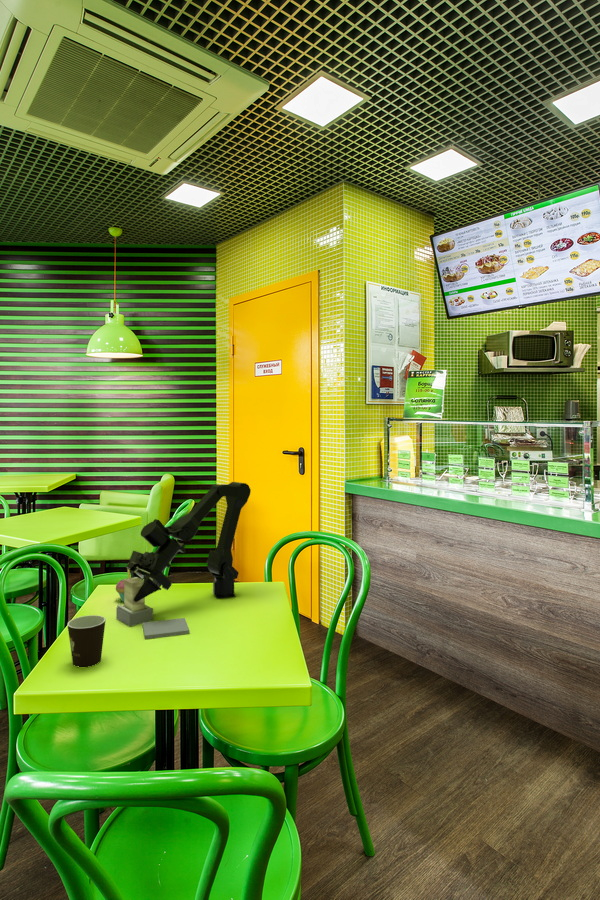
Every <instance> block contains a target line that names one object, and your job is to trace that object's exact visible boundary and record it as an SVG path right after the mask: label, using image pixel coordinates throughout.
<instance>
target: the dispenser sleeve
mask: <svg viewBox="0 0 600 900" xmlns="http://www.w3.org/2000/svg"><path fill="white" fill-rule="evenodd" d="M115 610H116V611H115V612H116V617H115V618H116V620H118V621H119V622H121V623H123V624H125V625H126V626H128V627H133V626H136V625H140V624H143V622H152V621H154V608H153V607H152V606H149V605H147V604H145V609H143V610H140V611H136V612H132V611H130V610H129V609H127V608H125V607H124V605H121V604H119V603H118V604H116V609H115Z"/></svg>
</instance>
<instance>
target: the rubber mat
mask: <svg viewBox="0 0 600 900" xmlns="http://www.w3.org/2000/svg"><path fill="white" fill-rule="evenodd" d="M142 629H143V636H144V637H143V638H144V640H148V639H149V640H150V639H156V638H158V637H159V638H166V637H172V636H173V637H175V636H181V635H189V634H190V628H189V625H188V623H187V620H186V617H179V618H170V619H163V620H162V619H161V620H155V621H154V620H152V621H148V622H143V623H142Z"/></svg>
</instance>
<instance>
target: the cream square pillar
mask: <svg viewBox="0 0 600 900" xmlns="http://www.w3.org/2000/svg"><path fill="white" fill-rule="evenodd" d="M124 579H125V580H124ZM124 579H123V580H124V602H123V603H124V604H123V606H124V607H125V608H127V609H129V610H130V611H132V612H136V611H140V610H143V609H145V605H146V597H145V598H143V599H141V600H139V601H138V602H135V601H134V598H135V596H136V595H137V593H138V592H139V590H140V588H141V587H142V585H143V584H144V579H140V578H138V577H134V578H131V577H130V578H129V579H127V578H124Z"/></svg>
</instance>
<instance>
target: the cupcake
mask: <svg viewBox="0 0 600 900" xmlns="http://www.w3.org/2000/svg"><path fill="white" fill-rule="evenodd" d="M129 578H131V574H130V572H129V569H128V568H127V578H124V579H121V580H119V581H118V582H117V583H116V585H115V591H116V592H117V594H118V596H119V597H120V600H121V602H123V603H124V580H125V579H129Z"/></svg>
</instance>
